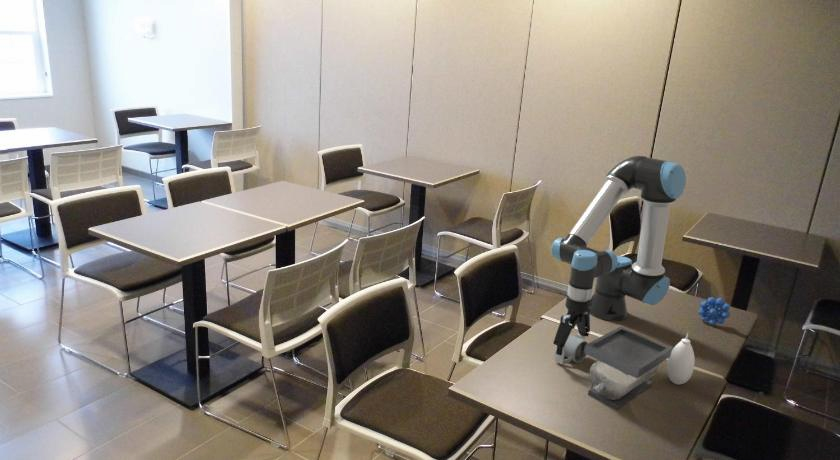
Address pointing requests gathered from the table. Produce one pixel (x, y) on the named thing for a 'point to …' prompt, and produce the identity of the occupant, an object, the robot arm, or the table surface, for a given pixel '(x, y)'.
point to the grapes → (714, 311)
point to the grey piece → (623, 366)
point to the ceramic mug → (574, 349)
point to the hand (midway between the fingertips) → (568, 357)
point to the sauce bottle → (681, 362)
